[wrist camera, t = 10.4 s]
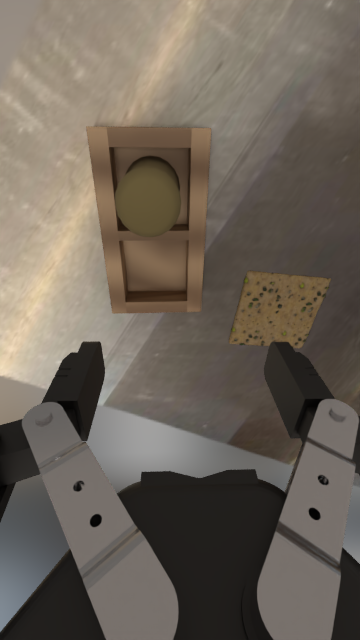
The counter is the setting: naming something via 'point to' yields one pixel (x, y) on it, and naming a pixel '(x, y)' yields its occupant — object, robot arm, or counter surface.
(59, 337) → the counter surface
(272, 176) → the counter surface
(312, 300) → the tan speckled flat square
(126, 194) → the olive game pawn
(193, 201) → the caddy
